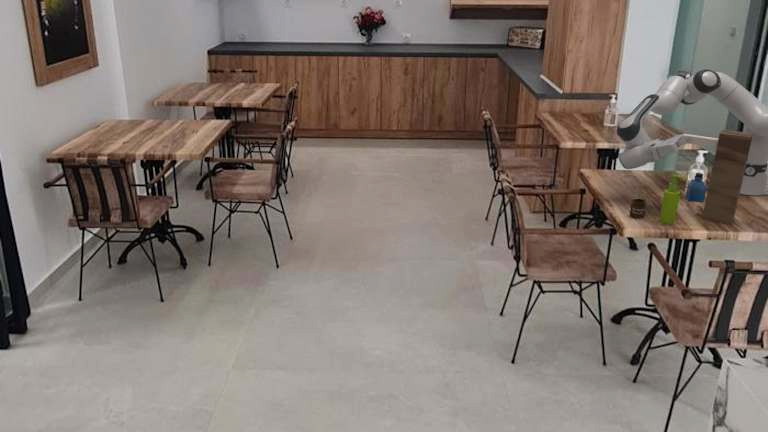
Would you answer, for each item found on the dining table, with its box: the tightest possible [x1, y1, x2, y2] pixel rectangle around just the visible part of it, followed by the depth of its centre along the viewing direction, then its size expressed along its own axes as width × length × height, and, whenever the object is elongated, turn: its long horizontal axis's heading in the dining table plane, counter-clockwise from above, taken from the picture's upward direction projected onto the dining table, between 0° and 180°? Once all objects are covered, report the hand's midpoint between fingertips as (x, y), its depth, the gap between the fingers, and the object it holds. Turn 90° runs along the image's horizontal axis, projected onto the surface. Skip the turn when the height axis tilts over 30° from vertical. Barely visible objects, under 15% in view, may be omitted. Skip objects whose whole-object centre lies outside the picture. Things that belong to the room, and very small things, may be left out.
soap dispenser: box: [658, 173, 687, 225], centre depth 264 cm, size 6×7×20 cm
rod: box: [682, 133, 719, 148], centre depth 264 cm, size 3×20×3 cm, turn 57°
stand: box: [701, 129, 753, 226], centre depth 265 cm, size 9×11×36 cm
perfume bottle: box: [685, 172, 707, 203], centre depth 291 cm, size 6×6×12 cm
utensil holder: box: [629, 189, 651, 220], centre depth 270 cm, size 6×6×12 cm
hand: (691, 138), depth 267 cm, fingers closed on rod, 3 cm apart
